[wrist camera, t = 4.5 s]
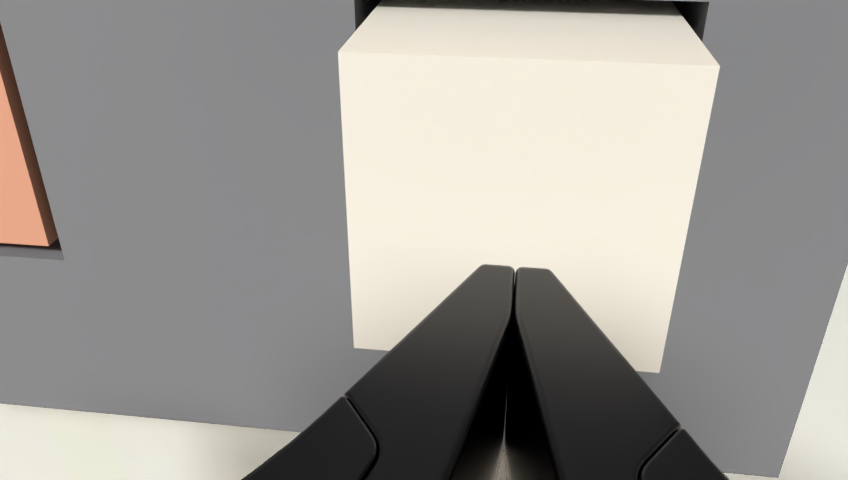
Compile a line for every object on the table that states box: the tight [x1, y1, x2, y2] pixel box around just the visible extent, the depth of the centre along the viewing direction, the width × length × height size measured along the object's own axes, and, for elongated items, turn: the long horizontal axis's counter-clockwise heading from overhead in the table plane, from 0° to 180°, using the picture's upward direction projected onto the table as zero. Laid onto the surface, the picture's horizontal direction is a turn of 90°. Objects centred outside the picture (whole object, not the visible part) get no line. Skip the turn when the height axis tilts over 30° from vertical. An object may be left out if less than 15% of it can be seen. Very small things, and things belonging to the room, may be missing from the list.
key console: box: [0, 0, 848, 478], centre depth 17 cm, size 24×14×6 cm, turn 90°
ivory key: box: [338, 0, 720, 373], centre depth 13 cm, size 5×5×4 cm
